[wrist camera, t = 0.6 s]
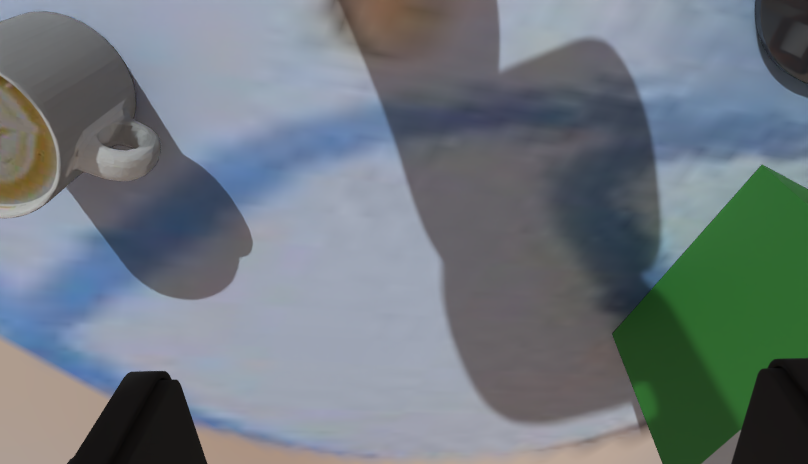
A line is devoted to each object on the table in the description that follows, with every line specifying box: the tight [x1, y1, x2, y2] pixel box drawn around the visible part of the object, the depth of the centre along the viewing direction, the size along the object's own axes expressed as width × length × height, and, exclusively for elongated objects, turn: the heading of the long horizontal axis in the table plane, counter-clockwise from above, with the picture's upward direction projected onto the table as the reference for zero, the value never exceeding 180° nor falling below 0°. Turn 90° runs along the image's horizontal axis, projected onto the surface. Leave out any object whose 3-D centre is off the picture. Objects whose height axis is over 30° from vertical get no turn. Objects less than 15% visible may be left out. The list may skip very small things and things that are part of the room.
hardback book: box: [612, 165, 808, 464], centre depth 38 cm, size 18×7×24 cm, turn 154°
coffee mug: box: [0, 12, 161, 218], centre depth 38 cm, size 13×10×10 cm
